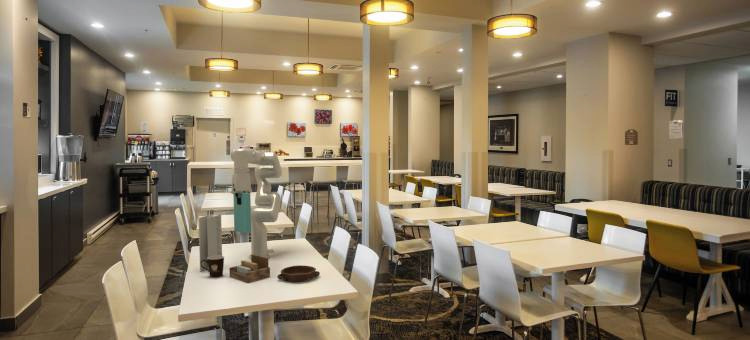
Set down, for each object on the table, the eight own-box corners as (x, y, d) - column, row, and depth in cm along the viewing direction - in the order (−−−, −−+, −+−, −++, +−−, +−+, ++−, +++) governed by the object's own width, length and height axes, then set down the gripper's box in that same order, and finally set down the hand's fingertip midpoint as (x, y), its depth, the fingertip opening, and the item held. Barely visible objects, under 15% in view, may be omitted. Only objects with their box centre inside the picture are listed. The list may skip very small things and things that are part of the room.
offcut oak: (244, 274, 253) (244, 260, 252) (257, 278, 245) (257, 263, 244) (241, 275, 251) (241, 260, 251) (254, 279, 243) (254, 264, 243)
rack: (252, 271, 259) (251, 253, 258) (270, 276, 248) (269, 258, 247) (229, 276, 248) (229, 258, 248) (247, 282, 237) (247, 263, 237)
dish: (275, 276, 250) (275, 267, 249) (315, 272, 257) (315, 263, 257) (279, 285, 233) (279, 276, 233) (323, 281, 240) (322, 271, 240)
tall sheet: (238, 230, 266) (238, 191, 265) (251, 232, 258) (250, 193, 257) (234, 230, 264) (233, 192, 263) (246, 233, 256) (245, 193, 255)
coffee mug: (228, 274, 253) (227, 256, 252) (217, 278, 245) (217, 260, 244) (210, 272, 257) (209, 254, 256) (199, 276, 249) (199, 258, 248)
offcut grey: (240, 276, 250) (240, 265, 249) (251, 280, 243) (251, 268, 243) (237, 277, 248) (236, 266, 248) (248, 280, 241) (247, 269, 241)
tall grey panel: (209, 272, 258) (207, 218, 256) (199, 271, 259) (198, 217, 257) (222, 265, 271) (221, 214, 270) (213, 265, 273) (212, 214, 271)
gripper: (249, 170, 268) (250, 202, 269) (224, 171, 255) (225, 205, 257) (257, 170, 263) (258, 203, 264) (232, 172, 250) (232, 206, 252)
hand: (242, 203), depth 260 cm, fingers closed on tall sheet, 3 cm apart
